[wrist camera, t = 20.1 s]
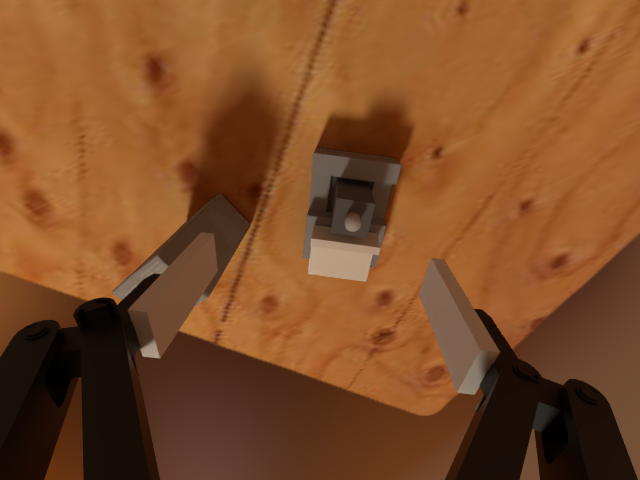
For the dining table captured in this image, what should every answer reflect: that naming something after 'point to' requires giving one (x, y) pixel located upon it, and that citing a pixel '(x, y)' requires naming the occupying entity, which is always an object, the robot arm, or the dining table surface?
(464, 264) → the dining table surface
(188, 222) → the skincare box
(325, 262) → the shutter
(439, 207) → the dining table surface
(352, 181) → the plug
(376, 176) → the socket
